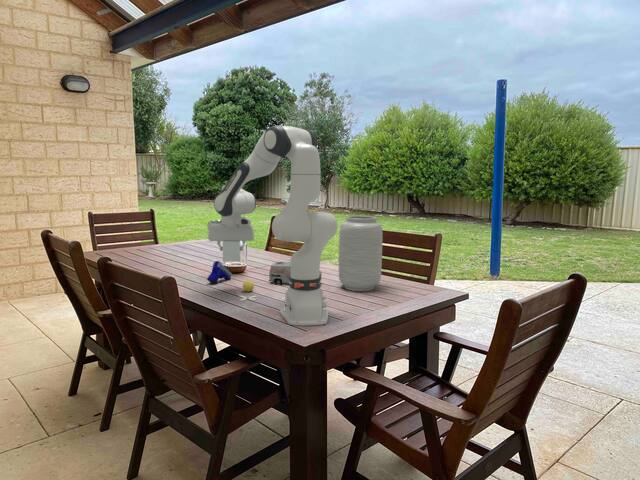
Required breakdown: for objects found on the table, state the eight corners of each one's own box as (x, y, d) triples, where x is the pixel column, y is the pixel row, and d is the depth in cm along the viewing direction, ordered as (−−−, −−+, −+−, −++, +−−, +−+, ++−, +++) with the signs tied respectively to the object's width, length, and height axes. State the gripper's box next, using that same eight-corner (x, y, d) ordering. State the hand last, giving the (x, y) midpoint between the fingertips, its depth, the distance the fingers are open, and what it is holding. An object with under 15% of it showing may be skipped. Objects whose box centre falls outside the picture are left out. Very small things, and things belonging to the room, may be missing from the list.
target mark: (262, 298, 199) (262, 297, 199) (247, 302, 192) (247, 302, 192) (248, 294, 204) (248, 294, 204) (232, 298, 197) (232, 298, 197)
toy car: (318, 287, 219) (318, 267, 218) (267, 284, 224) (267, 264, 222) (322, 282, 229) (322, 263, 228) (274, 279, 234) (274, 260, 233)
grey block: (239, 261, 206) (239, 241, 205) (222, 261, 205) (222, 241, 204) (240, 258, 214) (239, 239, 212) (223, 258, 212) (223, 239, 211)
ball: (253, 292, 208) (253, 281, 207) (242, 292, 207) (242, 281, 206) (254, 289, 213) (253, 279, 212) (243, 290, 212) (242, 279, 211)
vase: (346, 294, 207) (347, 219, 203) (332, 283, 227) (334, 215, 222) (387, 291, 213) (390, 219, 208) (371, 281, 232) (373, 215, 227)
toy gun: (205, 278, 221) (214, 260, 225) (220, 290, 231) (228, 273, 236) (212, 279, 219) (220, 261, 223) (227, 291, 229) (234, 273, 234)
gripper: (206, 220, 202) (207, 252, 204) (254, 220, 205) (254, 251, 207) (207, 219, 208) (208, 249, 210) (253, 219, 211) (253, 249, 214)
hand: (231, 250), depth 209 cm, fingers closed on grey block, 7 cm apart
